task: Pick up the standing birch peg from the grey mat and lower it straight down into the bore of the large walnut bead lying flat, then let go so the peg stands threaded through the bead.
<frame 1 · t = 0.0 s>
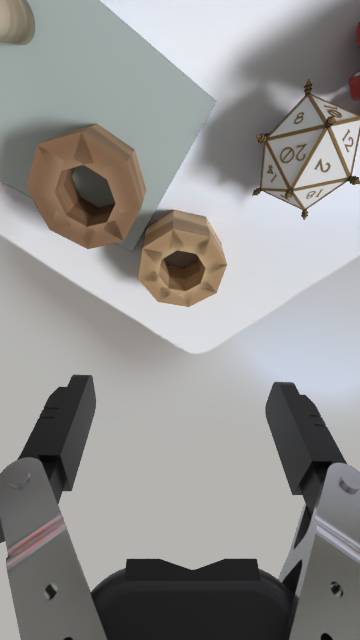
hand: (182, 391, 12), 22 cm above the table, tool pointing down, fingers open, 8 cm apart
game die: (290, 148, 25), on the table
birch peg: (14, 17, 19), point 1 cm above the table, touching grey mat
walnut bead: (98, 181, 26), resting on grey mat
oak bead: (181, 249, 32), on the table
grey mat: (80, 129, 24), on the table
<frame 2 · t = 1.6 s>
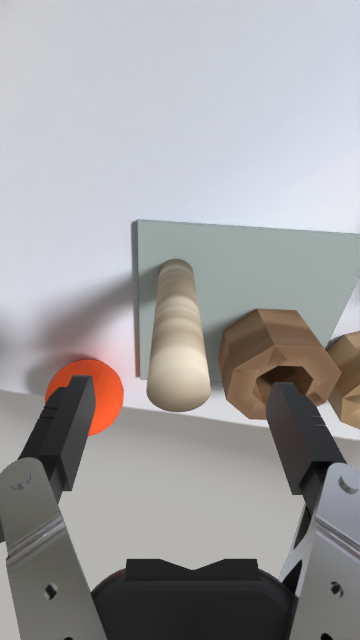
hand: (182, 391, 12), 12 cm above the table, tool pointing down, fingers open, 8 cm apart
birch peg: (176, 275, 22), point 1 cm above the table, touching grey mat
walnut bead: (264, 347, 26), resting on grey mat
oak bead: (359, 362, 28), on the table
grey mat: (238, 316, 25), on the table
clementine: (93, 372, 29), on the table
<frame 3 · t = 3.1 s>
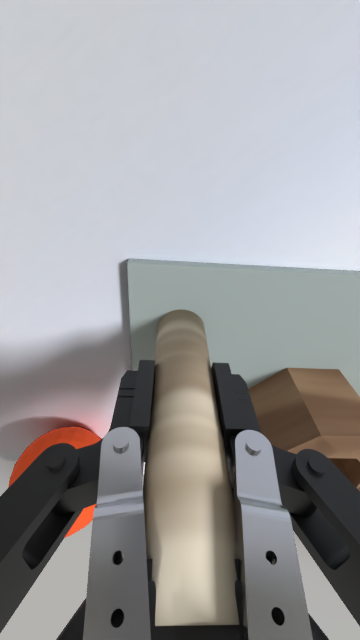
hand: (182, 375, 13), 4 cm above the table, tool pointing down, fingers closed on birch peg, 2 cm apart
birch peg: (180, 329, 16), point 1 cm above the table, touching grey mat, gripper
walnut bead: (294, 410, 20), resting on grey mat
grey mat: (261, 374, 19), on the table
clementine: (77, 436, 23), on the table
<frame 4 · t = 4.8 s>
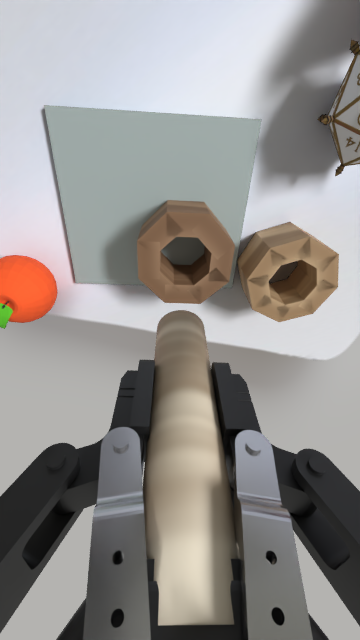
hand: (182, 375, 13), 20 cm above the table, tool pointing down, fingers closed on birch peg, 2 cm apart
game die: (352, 111, 24), on the table
birch peg: (180, 330, 16), point 16 cm above the table, touching gripper
walnut bead: (183, 244, 29), resting on grey mat
oak bead: (276, 263, 31), on the table
grey mat: (155, 211, 28), on the table
clementine: (34, 278, 31), on the table
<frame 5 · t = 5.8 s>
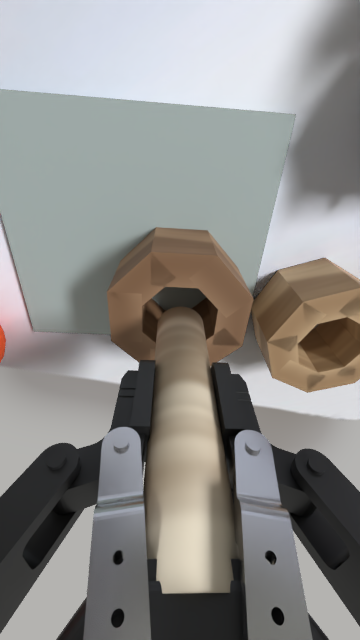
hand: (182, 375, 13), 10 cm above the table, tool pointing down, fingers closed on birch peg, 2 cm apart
birch peg: (180, 326, 17), point 6 cm above the table, touching gripper
walnut bead: (178, 285, 21), resting on grey mat
oak bead: (303, 309, 23), on the table
grey mat: (139, 242, 20), on the table
when the fingers open (7 cm above the table, at t = 6.7 s): birch peg drops 2 cm, resting on grey mat.
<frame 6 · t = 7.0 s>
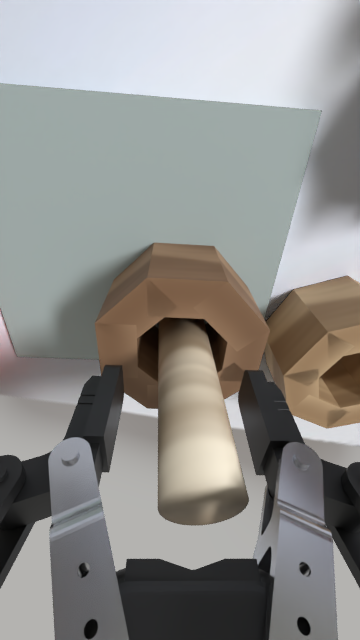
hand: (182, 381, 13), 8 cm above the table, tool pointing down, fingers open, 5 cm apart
birch peg: (179, 308, 18), point 1 cm above the table, touching grey mat
walnut bead: (179, 306, 18), resting on grey mat
oak bead: (320, 332, 21), on the table
grey mat: (135, 258, 17), on the table
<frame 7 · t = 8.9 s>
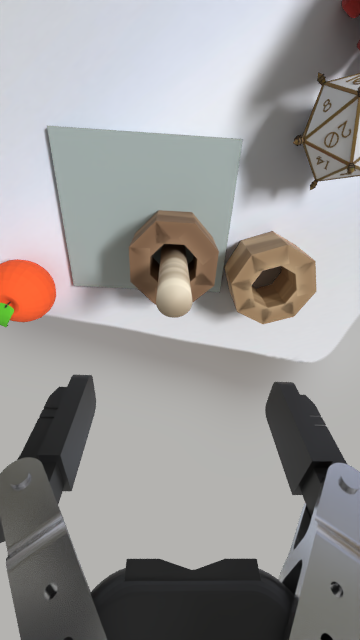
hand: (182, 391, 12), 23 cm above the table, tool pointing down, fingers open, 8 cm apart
game die: (325, 132, 26), on the table
birch peg: (173, 251, 31), point 1 cm above the table, touching grey mat
walnut bead: (173, 250, 31), resting on grey mat
oak bead: (261, 269, 33), on the table
grey mat: (147, 221, 30), on the table
clementine: (35, 281, 34), on the table
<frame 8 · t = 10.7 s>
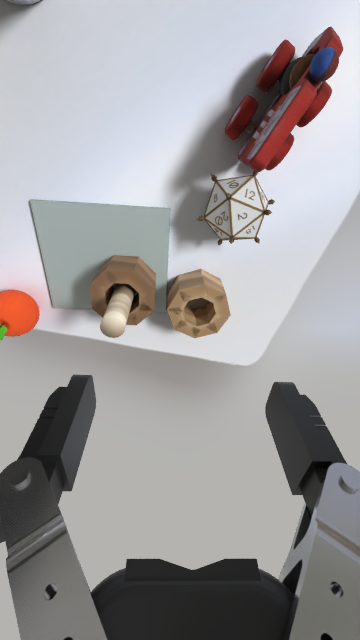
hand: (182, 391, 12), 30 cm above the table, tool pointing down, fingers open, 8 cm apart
game die: (230, 203, 36), on the table
birch peg: (127, 283, 41), point 1 cm above the table, touching grey mat
walnut bead: (127, 283, 41), resting on grey mat
oak bead: (196, 296, 44), on the table
grey mat: (106, 261, 40), on the table
red toy car: (270, 111, 31), on the table
clementine: (23, 303, 44), on the table
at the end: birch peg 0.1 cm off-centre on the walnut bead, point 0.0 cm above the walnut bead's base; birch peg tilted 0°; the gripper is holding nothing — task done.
